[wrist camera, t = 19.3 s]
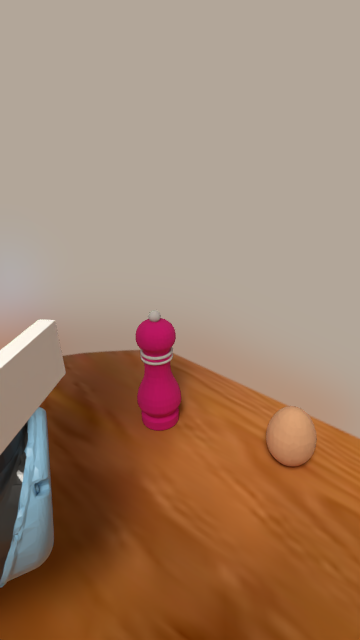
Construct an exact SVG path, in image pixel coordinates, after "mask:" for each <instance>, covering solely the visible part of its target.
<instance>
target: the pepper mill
mask: <svg viewBox="0 0 360 640" xmlns="http://www.w3.org/2000/svg"><path fill="white" fill-rule="evenodd" d="M148 317H149V319H147V320H145V321H143V322H142V323H141V324H140V325H139V326H138V328H137V331H136V342H137V344H138V346H139V347H140V348H141V350H140V353H141V360H142V361H143V362H144V365H145V374H144V378H143V380H142V382H141V384H140V387H139V390H138V395H137V401H138V405H139V407H140V408H141V410H142V421H143V423H144V425H145V426H146V427H148V428H149V429H153V430H158V431H159V430H166V429H169V428H171V427H173V426H174V425H175V424H176V423H177V421H178V419H179V409H178V406H179V405H180V402H181V392H180V388H179V386H178V383H177V382H176V380H175V378H174V376H173V374H172V372H171V368H170V360H171V359H172V358H173V353H172V352H173V348H172V346H173V344H174V342H175V339H176V337H175V330H174V327H173V326H172V324H171V323H169V322H168V321H166V320H165V319H162V318H160V317H161V315H160V313H159V312H158V311H156V310H153V311H151V312H150V313H149V316H148Z"/></svg>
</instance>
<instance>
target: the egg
mask: <svg viewBox="0 0 360 640" xmlns="http://www.w3.org/2000/svg"><path fill="white" fill-rule="evenodd" d="M316 440H317V439H316V430H315V427H314V424H313V422H312V420H311V418H310V417H309V415H308V414H307V413H306V412H305V411H303V410H302V409H300V408H298V407H295V406H288V407H284V408H282V409H281V410H279V411H278V412H277V413H276V414H275V415H274V416H273V417H272V419H271V420H270V422H269V424H268V428H267V432H266V441H267V446H268V449H269V451H270V453H271V454H272V455H273V457H274V458H275V459H276V460H277V461H278V462H280V463H282V464H283V465H287V466H299V465H301V464H303V463H305V462H306V461H308V460H309V459H310V457H311V456H312V455H313V453H314V450H315V447H316Z"/></svg>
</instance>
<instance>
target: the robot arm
mask: <svg viewBox="0 0 360 640" xmlns="http://www.w3.org/2000/svg"><path fill="white" fill-rule="evenodd" d="M65 374H66V372H65V367H64V362H63V357H62V352H61V347H60V342H59V337H58V332H57V327H56V322H55V320H40V319H39V320H38V321H36V322H35V323H34V324H33V325H31V326H30V327H29V328H28V329H26V330H25V331H24V332H23V333H22V334H20V335H19V336H18V337H16V338H15V339H14V340H13V341H11V342H10V343H9V344H8V345H6V346H5V347H4V348H3V349H2V350H0V588H1V587H3V586H4V585H5V584H6V583H7V581H10V580H12V579H14V578H16V577H19V576H21V575H23V574H25V573H27V572H30V571H32V570H34V569H36V568H38V567H39V566H41V565H42V564H43V563H44V562H45V561H46V559H47V558H48V557H49V555H50V553H51V551H52V548H53V544H54V527H53V509H52V492H51V475H50V460H49V444H48V428H47V417H46V411H45V410H44V409H43V408H41V407H39V406H40V405H41V403H42V402H43V401H44V400H45V398H46V397H47V396H48V395H49V393H50V392H51V391H52V390H53V388H54V387H55V386H56V385H57V383H58V382H59V381H60V380H61V378H62V377H63V376H64V375H65Z"/></svg>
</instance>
